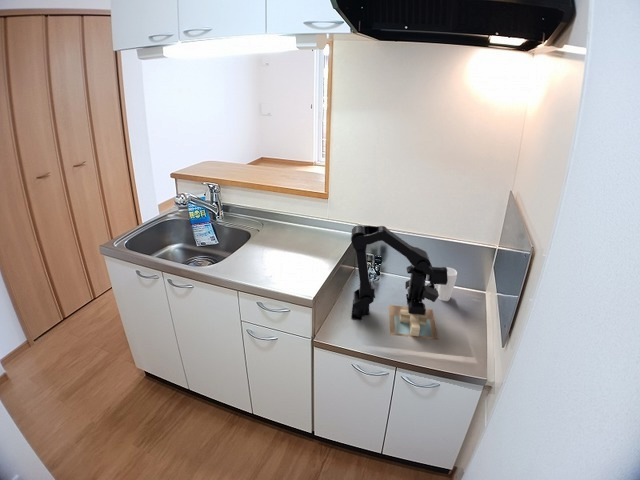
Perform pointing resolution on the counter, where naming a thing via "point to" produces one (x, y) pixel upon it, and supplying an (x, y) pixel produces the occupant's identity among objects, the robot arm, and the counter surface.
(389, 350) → the counter surface
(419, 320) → the t block
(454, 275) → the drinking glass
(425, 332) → the push board
